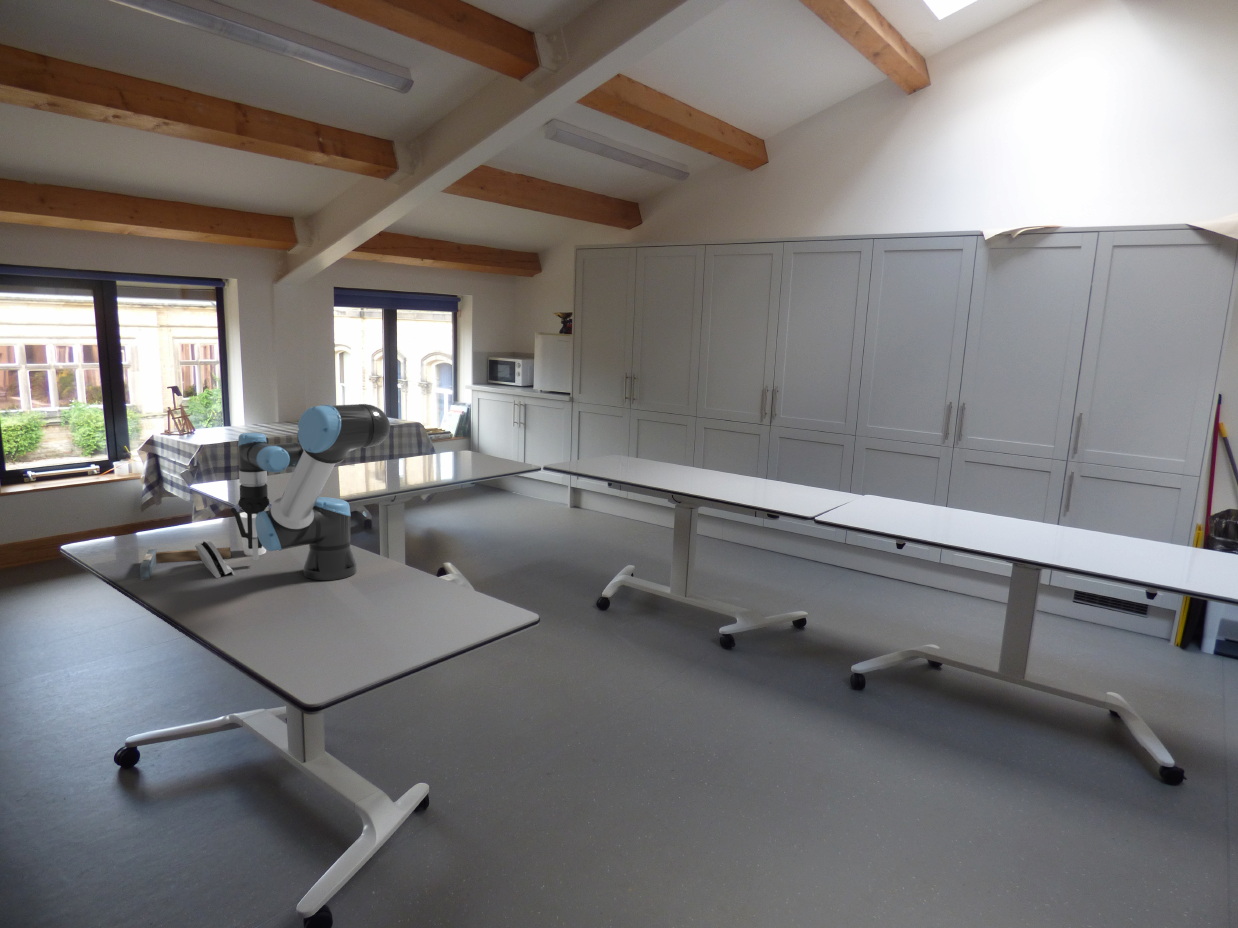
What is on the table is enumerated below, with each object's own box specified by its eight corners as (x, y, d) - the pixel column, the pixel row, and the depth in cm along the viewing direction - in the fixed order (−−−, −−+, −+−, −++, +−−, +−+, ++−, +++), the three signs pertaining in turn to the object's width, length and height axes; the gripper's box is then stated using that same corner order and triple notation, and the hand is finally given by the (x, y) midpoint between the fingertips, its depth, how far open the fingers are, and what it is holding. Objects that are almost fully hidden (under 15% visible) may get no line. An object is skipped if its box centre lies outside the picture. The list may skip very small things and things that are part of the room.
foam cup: (277, 549, 238) (275, 512, 236) (260, 558, 229) (259, 518, 227) (250, 547, 239) (248, 509, 237) (232, 555, 230) (231, 516, 228)
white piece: (235, 575, 213) (221, 546, 209) (219, 583, 210) (204, 554, 206) (221, 560, 225) (207, 533, 221) (205, 567, 223) (191, 540, 219)
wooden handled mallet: (230, 556, 230) (230, 543, 229) (228, 572, 215) (227, 559, 214) (149, 562, 220) (148, 548, 219) (140, 579, 205) (139, 565, 204)
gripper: (277, 480, 223) (278, 553, 227) (229, 481, 217) (232, 556, 222) (277, 485, 216) (279, 560, 221) (228, 487, 211) (231, 563, 215)
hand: (255, 558), depth 221 cm, fingers closed
